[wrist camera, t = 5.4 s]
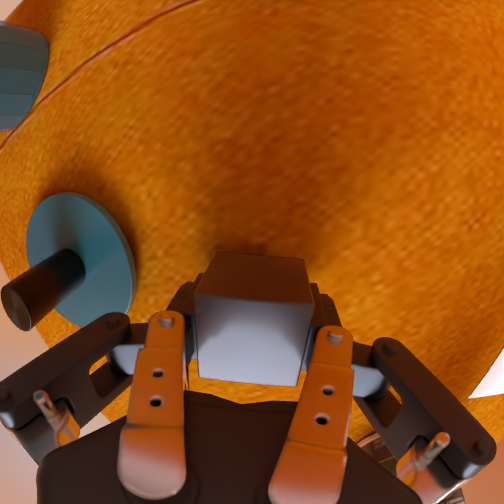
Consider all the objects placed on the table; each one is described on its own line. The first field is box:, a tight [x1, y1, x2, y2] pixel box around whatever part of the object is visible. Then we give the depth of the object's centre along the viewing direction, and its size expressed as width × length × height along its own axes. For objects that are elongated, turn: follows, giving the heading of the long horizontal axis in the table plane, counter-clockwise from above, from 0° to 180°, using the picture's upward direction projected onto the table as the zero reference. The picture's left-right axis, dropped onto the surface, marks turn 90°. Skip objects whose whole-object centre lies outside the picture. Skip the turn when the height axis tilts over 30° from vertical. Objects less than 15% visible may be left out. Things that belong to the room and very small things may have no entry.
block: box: [194, 252, 315, 386], centre depth 11 cm, size 4×4×4 cm
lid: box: [1, 192, 137, 331], centre depth 12 cm, size 9×9×6 cm
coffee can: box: [357, 432, 466, 504], centre depth 13 cm, size 10×10×14 cm
